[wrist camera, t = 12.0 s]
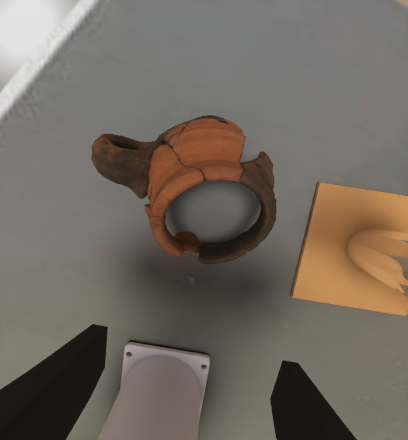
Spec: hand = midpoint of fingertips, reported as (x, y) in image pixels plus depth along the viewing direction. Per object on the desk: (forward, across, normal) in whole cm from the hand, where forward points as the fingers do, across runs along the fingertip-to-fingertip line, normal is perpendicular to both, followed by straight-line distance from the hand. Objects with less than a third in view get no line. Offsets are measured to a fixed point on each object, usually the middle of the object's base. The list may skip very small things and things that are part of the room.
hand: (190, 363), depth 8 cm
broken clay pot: (+11, +2, -6) cm, 13 cm away
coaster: (+10, -13, -3) cm, 17 cm away
